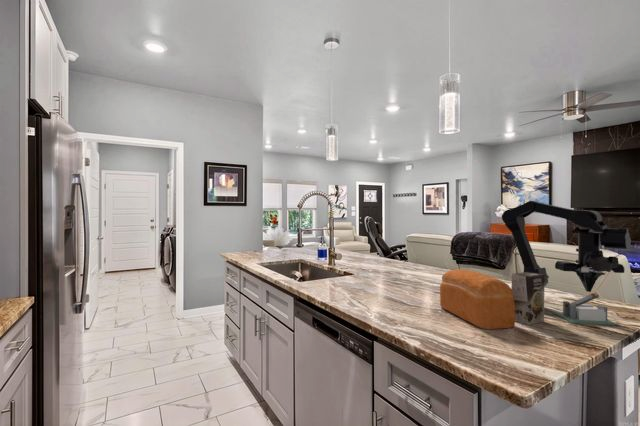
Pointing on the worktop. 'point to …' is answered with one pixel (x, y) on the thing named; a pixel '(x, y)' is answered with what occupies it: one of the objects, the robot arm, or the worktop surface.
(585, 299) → the grey and brown bar
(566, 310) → the heatsink board
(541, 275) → the coffee box
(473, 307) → the bread
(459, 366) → the worktop surface
